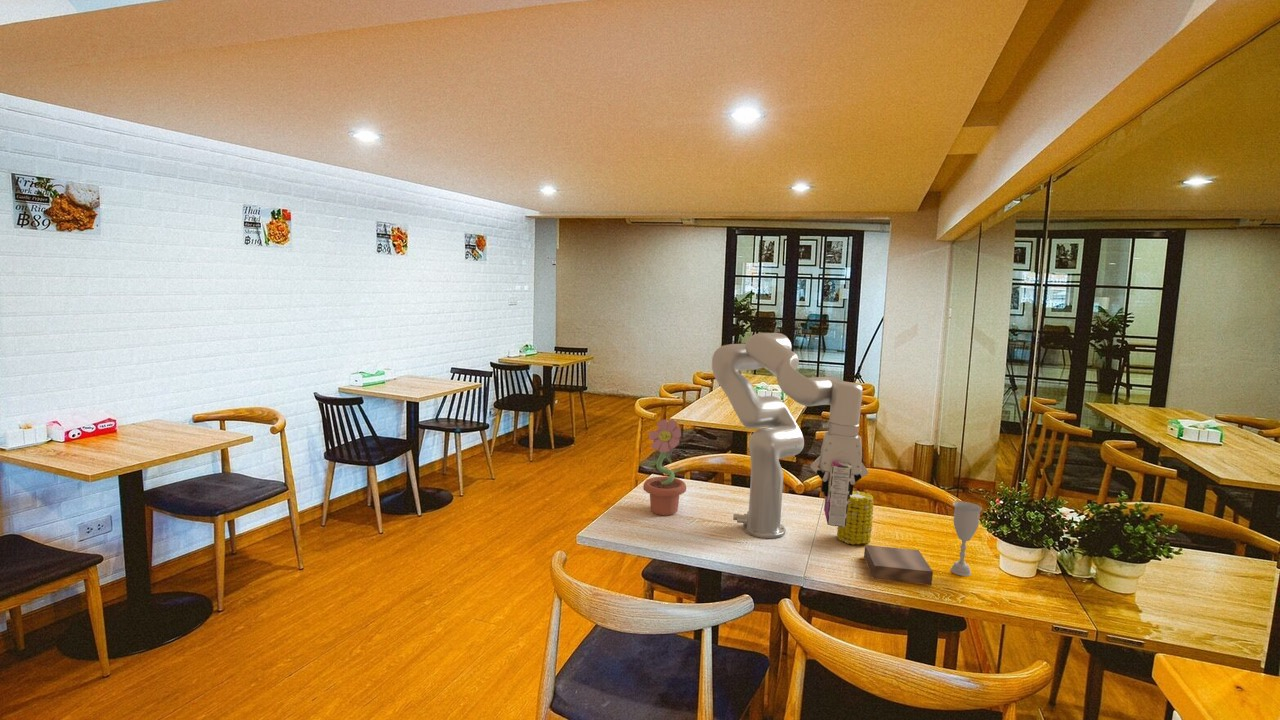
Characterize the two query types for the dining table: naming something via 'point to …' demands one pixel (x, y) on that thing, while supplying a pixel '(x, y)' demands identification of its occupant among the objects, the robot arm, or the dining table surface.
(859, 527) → the food
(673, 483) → the decorative flower
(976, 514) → the chalice
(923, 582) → the walnut block
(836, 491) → the candy bar box
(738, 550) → the dining table surface
